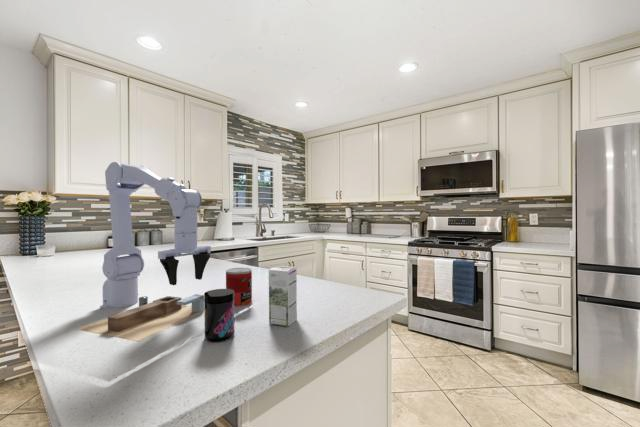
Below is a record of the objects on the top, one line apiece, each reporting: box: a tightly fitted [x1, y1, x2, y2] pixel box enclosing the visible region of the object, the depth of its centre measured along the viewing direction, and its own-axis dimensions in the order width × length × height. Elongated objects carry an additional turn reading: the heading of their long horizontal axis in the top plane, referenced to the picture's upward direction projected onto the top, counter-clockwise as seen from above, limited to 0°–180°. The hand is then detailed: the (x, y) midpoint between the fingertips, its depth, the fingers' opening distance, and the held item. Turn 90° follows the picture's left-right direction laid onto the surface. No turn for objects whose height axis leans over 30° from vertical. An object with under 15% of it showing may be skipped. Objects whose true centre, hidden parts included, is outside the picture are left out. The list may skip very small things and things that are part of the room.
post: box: [138, 295, 149, 307], centre depth 87 cm, size 2×2×4 cm
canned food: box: [225, 267, 253, 307], centre depth 94 cm, size 8×8×11 cm
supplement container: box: [203, 288, 235, 343], centre depth 70 cm, size 7×7×10 cm
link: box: [107, 295, 182, 332], centre depth 80 cm, size 19×5×3 cm, turn 160°
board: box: [76, 305, 204, 342], centre depth 80 cm, size 21×23×1 cm
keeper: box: [177, 293, 204, 313], centre depth 83 cm, size 3×7×4 cm, turn 160°
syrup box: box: [268, 265, 298, 328], centre depth 79 cm, size 6×6×14 cm
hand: (186, 281), depth 83 cm, fingers open, 7 cm apart
